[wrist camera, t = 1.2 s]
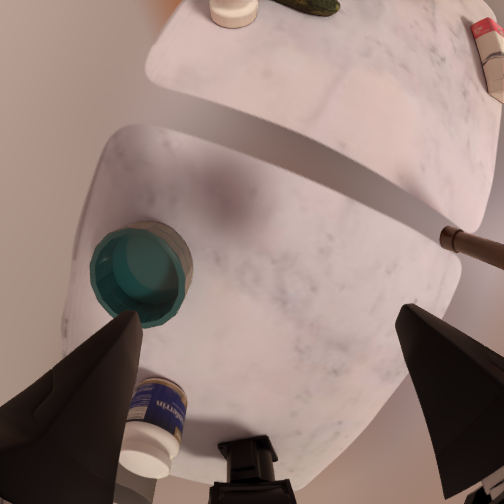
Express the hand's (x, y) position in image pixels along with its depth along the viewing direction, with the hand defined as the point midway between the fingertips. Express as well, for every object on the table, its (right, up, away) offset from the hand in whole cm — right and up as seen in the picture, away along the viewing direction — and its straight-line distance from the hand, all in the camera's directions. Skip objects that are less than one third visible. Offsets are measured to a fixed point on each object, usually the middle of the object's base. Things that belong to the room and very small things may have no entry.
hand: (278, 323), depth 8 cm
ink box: (+33, +33, +6) cm, 47 cm away
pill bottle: (-10, -13, +17) cm, 24 cm away
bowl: (-9, +1, +14) cm, 17 cm away
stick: (+20, +4, +15) cm, 25 cm away
